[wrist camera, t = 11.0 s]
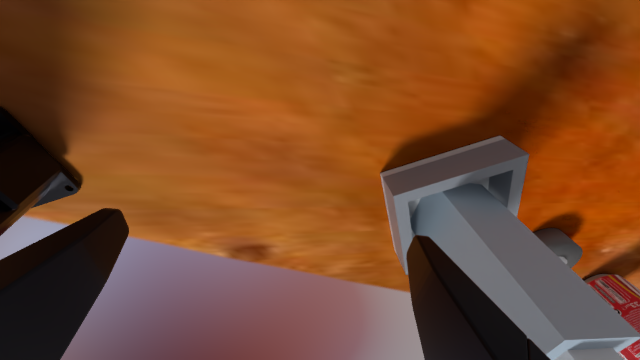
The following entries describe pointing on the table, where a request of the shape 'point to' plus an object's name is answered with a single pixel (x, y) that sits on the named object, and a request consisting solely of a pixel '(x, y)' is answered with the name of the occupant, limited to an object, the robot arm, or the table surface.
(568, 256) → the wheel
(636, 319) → the soda can
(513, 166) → the tray
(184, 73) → the table surface
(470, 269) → the tall grey rectangular prism
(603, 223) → the table surface
